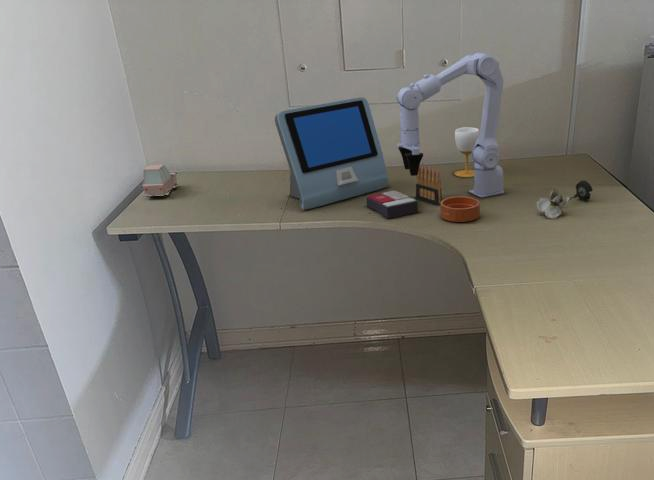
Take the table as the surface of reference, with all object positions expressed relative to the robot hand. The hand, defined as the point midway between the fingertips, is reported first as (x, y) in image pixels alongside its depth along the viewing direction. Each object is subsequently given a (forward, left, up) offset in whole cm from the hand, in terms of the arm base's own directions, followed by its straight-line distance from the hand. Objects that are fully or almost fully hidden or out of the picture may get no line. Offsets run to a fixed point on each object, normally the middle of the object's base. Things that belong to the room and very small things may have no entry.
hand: (411, 172), depth 206 cm
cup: (-32, -19, -10) cm, 39 cm away
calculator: (+9, +2, -10) cm, 14 cm away
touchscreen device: (+19, -23, -10) cm, 31 cm away
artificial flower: (-38, +31, -10) cm, 51 cm away
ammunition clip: (-5, +1, -10) cm, 12 cm away
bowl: (-6, +20, -10) cm, 23 cm away
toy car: (+71, -58, -10) cm, 92 cm away
